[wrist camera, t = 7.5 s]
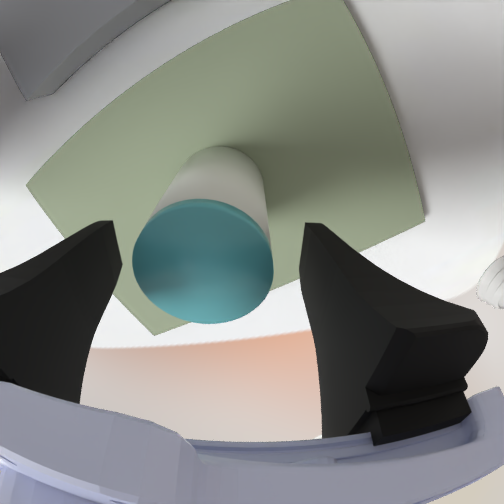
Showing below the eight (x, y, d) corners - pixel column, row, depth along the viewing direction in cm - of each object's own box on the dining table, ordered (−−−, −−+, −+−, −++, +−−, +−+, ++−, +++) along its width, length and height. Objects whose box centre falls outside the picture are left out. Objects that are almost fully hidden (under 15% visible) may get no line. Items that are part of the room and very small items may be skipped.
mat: (156, 329, 22) (154, 335, 21) (30, 181, 15) (25, 185, 14) (420, 216, 17) (425, 221, 16) (331, -11, 10) (334, -14, 9)
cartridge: (263, 225, 16) (272, 322, 10) (182, 228, 16) (149, 322, 10) (263, 144, 14) (274, 204, 8) (171, 149, 14) (117, 212, 8)
